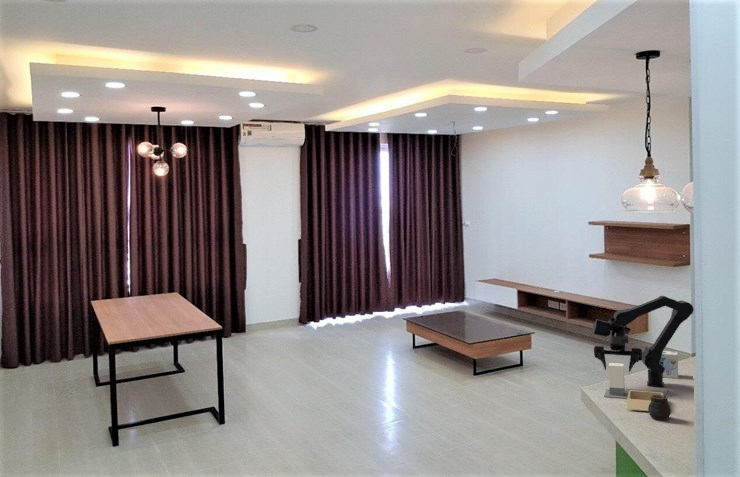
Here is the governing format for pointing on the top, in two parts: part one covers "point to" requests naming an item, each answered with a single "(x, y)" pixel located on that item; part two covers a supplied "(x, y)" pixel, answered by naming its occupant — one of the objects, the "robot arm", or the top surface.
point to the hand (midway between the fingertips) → (617, 370)
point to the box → (616, 379)
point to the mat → (607, 394)
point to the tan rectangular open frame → (640, 399)
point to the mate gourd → (659, 407)
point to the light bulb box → (670, 364)
